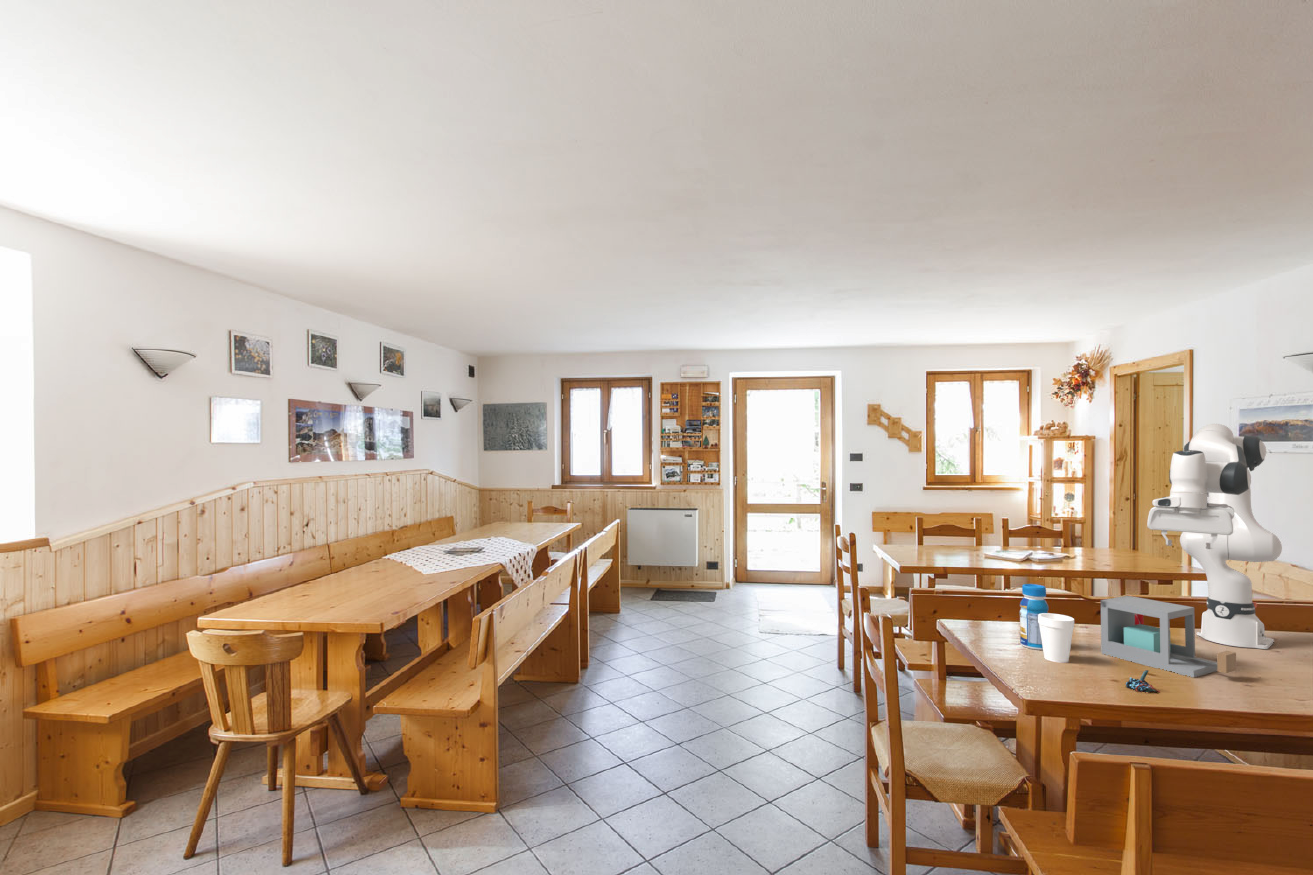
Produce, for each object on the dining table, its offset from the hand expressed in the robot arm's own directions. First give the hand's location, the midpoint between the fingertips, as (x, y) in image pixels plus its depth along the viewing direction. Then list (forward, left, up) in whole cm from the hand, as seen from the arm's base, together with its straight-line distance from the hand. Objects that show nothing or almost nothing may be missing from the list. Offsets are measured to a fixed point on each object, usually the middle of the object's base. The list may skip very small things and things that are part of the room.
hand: (1188, 547), depth 191 cm
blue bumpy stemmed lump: (+40, +5, -36) cm, 54 cm away
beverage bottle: (+28, -31, -35) cm, 55 cm away
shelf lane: (+8, -5, -35) cm, 36 cm away
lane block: (+8, 0, -33) cm, 34 cm away
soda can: (-10, -21, -35) cm, 42 cm away
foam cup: (+35, -20, -35) cm, 54 cm away
